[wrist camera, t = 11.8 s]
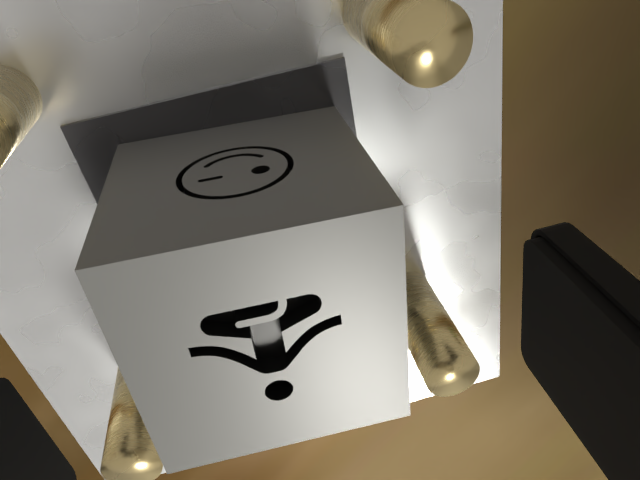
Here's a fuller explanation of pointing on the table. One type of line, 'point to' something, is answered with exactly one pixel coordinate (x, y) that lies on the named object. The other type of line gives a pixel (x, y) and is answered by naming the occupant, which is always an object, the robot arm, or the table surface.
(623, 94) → the table surface
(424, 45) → the chassis plate
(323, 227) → the dice cube
